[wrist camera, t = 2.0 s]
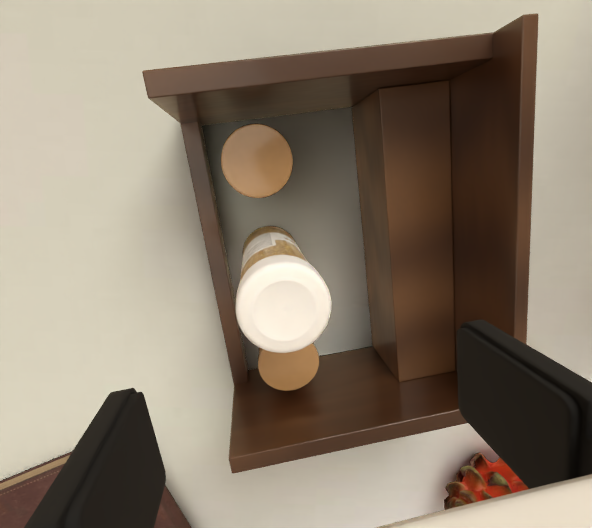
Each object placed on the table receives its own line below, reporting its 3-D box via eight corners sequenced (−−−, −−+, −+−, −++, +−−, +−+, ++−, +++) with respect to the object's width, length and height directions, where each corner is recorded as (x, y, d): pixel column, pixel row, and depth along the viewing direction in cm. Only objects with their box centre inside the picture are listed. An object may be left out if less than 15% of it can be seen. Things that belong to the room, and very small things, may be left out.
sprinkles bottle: (306, 259, 30) (351, 322, 17) (261, 288, 30) (271, 374, 17) (277, 213, 28) (300, 243, 15) (230, 244, 28) (214, 299, 16)
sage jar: (222, 138, 27) (214, 128, 21) (279, 131, 27) (287, 119, 21) (232, 197, 28) (227, 202, 22) (287, 189, 28) (297, 192, 22)
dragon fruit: (412, 478, 39) (498, 423, 41) (460, 564, 36) (550, 499, 38) (440, 496, 31) (545, 426, 33) (505, 608, 28) (616, 524, 30)
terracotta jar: (252, 310, 30) (253, 341, 24) (302, 301, 30) (315, 330, 25) (260, 355, 31) (263, 396, 25) (309, 346, 32) (322, 384, 26)
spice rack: (181, 110, 26) (126, 55, 14) (416, 82, 27) (539, 12, 16) (237, 383, 32) (230, 503, 20) (428, 347, 33) (523, 437, 22)
